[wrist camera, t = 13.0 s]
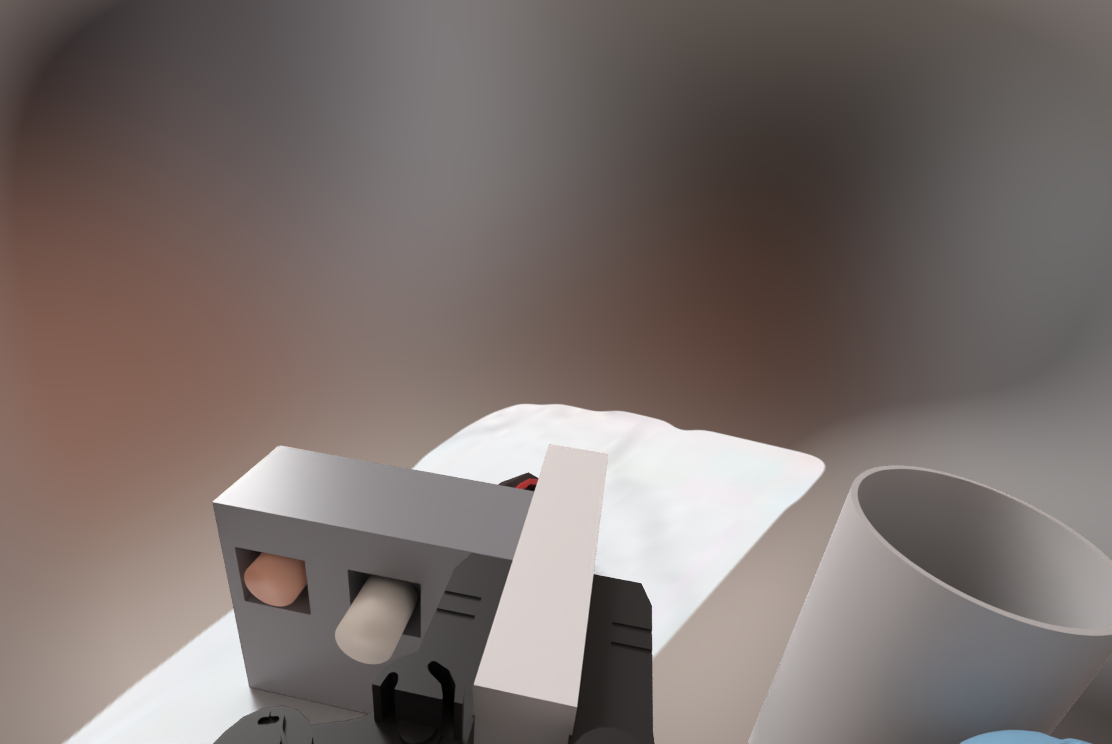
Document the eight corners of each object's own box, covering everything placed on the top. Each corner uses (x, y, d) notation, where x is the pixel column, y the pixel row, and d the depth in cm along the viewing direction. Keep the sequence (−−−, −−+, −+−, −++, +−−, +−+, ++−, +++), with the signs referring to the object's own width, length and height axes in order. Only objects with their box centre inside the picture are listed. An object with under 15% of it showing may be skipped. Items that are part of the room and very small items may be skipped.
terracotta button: (329, 568, 41) (326, 529, 39) (299, 611, 37) (294, 569, 36) (282, 559, 41) (277, 520, 40) (248, 600, 38) (240, 558, 36)
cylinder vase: (867, 973, 31) (1090, 684, 21) (707, 767, 40) (805, 497, 30) (964, 843, 38) (1171, 574, 27) (807, 691, 47) (916, 448, 37)
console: (551, 667, 46) (576, 499, 39) (537, 752, 40) (563, 569, 33) (300, 614, 49) (279, 445, 41) (249, 686, 42) (212, 502, 35)
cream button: (417, 618, 38) (417, 577, 36) (393, 669, 34) (392, 626, 33) (366, 607, 38) (363, 566, 36) (337, 657, 34) (332, 614, 33)
